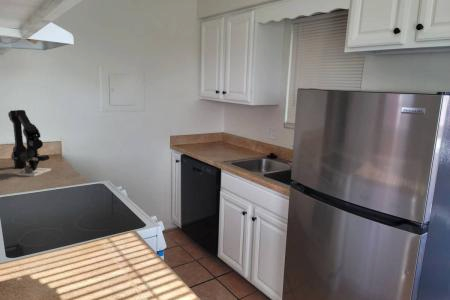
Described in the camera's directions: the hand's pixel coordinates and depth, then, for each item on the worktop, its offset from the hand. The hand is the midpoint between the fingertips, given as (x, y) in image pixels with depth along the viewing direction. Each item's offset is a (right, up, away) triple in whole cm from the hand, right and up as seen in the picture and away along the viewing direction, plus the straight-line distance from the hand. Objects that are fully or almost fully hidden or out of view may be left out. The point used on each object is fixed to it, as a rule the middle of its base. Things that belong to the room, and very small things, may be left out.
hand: (34, 170), depth 212 cm
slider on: (-6, +1, +9) cm, 10 cm away
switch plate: (-2, -2, +5) cm, 5 cm away
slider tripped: (-3, -1, +1) cm, 3 cm away
